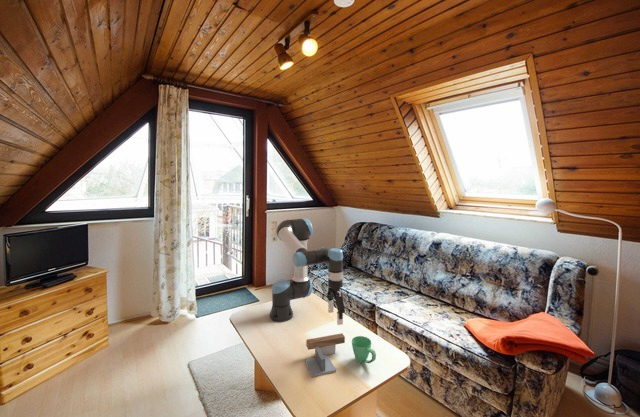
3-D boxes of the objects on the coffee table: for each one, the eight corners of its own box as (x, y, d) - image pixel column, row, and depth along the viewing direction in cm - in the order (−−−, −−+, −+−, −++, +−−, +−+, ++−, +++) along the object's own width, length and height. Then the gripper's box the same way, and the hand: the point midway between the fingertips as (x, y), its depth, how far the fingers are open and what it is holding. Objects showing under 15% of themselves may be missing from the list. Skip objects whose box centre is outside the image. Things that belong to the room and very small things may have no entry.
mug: (347, 358, 147) (347, 339, 146) (361, 351, 152) (362, 334, 151) (367, 374, 135) (367, 354, 134) (382, 366, 140) (382, 347, 139)
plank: (306, 346, 149) (306, 339, 149) (342, 339, 155) (342, 333, 155) (308, 349, 146) (308, 343, 145) (344, 342, 152) (344, 336, 152)
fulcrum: (305, 361, 145) (305, 348, 144) (327, 356, 148) (327, 344, 147) (311, 377, 133) (311, 363, 132) (335, 371, 137) (336, 358, 136)
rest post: (315, 353, 151) (315, 344, 150) (333, 350, 154) (333, 341, 153) (317, 356, 148) (317, 347, 148) (335, 352, 151) (335, 344, 151)
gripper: (321, 271, 159) (321, 308, 161) (337, 288, 135) (337, 331, 137) (333, 270, 161) (333, 306, 163) (351, 286, 137) (351, 328, 140)
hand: (335, 318), depth 150 cm, fingers open, 13 cm apart
